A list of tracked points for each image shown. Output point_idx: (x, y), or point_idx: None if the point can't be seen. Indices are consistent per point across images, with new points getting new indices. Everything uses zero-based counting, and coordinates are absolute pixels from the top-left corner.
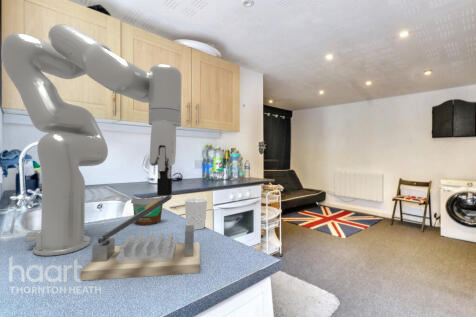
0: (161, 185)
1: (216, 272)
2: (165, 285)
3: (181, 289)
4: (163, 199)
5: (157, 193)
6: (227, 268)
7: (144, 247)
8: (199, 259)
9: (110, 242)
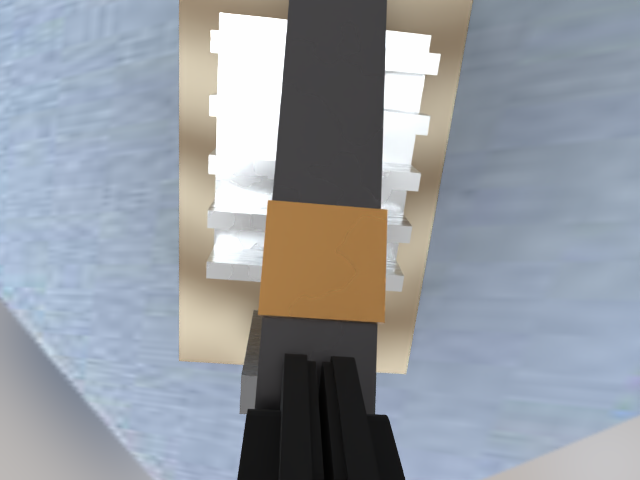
0: (241, 463)
1: (182, 393)
2: (113, 229)
3: (82, 280)
4: (258, 378)
5: (284, 359)
6: (206, 429)
7: (209, 160)
8: (219, 362)
9: None
